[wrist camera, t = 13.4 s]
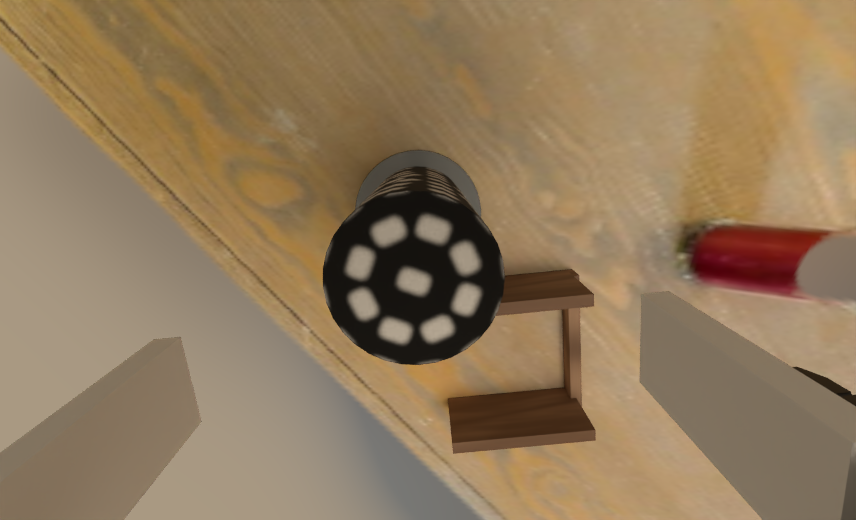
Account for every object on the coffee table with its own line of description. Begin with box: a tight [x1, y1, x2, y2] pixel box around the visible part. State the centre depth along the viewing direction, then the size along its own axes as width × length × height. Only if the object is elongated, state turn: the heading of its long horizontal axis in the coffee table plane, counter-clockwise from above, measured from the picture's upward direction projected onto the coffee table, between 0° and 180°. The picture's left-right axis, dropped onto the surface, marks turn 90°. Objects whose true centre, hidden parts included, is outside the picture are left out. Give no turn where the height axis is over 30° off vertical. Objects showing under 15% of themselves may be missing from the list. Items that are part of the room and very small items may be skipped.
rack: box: [448, 269, 595, 454], centre depth 41 cm, size 13×12×7 cm
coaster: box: [355, 150, 481, 217], centre depth 41 cm, size 11×11×1 cm
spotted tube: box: [323, 166, 505, 365], centre depth 31 cm, size 8×8×20 cm
